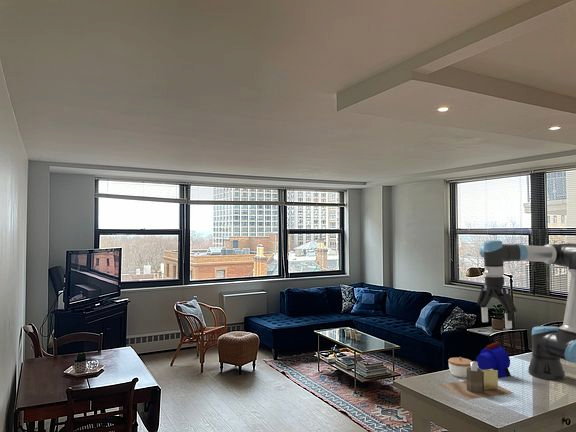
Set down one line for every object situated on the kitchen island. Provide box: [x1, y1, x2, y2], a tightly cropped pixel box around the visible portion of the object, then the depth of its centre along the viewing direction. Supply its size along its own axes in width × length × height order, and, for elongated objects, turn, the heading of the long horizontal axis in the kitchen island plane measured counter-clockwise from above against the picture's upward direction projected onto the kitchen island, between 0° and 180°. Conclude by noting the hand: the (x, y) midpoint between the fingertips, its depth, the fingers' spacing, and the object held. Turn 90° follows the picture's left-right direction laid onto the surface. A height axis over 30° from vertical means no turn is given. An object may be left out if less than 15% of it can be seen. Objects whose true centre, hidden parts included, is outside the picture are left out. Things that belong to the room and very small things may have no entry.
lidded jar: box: [447, 356, 472, 378], centre depth 202 cm, size 11×11×9 cm
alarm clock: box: [475, 341, 512, 379], centre depth 207 cm, size 12×12×15 cm
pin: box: [471, 360, 478, 371], centre depth 181 cm, size 3×3×12 cm
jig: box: [438, 367, 514, 400], centre depth 184 cm, size 24×18×10 cm
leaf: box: [483, 370, 499, 390], centre depth 182 cm, size 7×1×8 cm, turn 103°
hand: (496, 325), depth 184 cm, fingers open, 13 cm apart
